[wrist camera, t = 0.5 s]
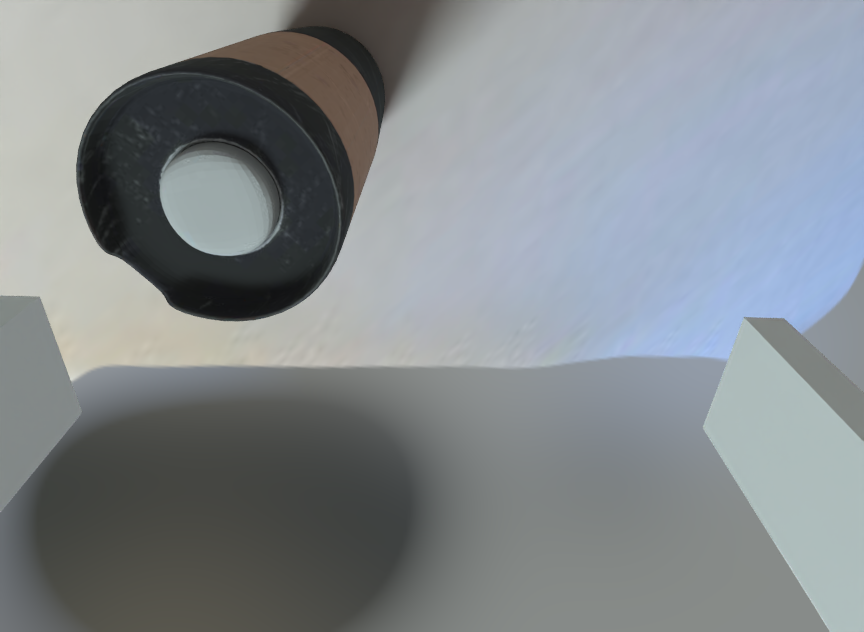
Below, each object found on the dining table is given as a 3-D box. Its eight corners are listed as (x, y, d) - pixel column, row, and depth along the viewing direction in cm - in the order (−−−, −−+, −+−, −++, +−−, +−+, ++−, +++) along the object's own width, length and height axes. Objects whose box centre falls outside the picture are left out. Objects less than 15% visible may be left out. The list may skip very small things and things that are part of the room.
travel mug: (394, 28, 31) (352, 80, 14) (385, 164, 35) (345, 336, 18) (256, 13, 31) (36, 46, 13) (263, 151, 35) (99, 315, 17)
